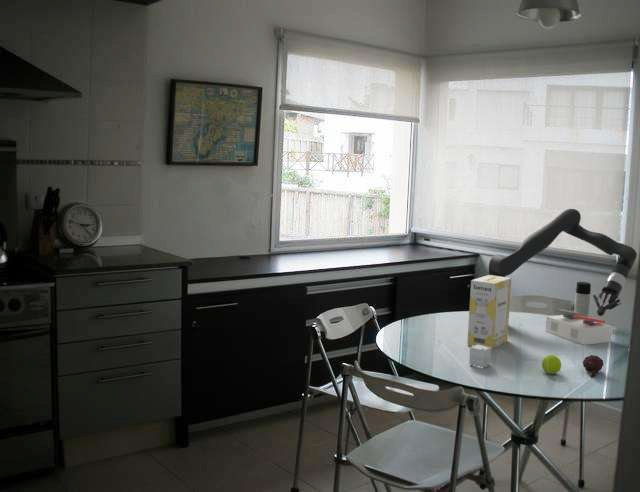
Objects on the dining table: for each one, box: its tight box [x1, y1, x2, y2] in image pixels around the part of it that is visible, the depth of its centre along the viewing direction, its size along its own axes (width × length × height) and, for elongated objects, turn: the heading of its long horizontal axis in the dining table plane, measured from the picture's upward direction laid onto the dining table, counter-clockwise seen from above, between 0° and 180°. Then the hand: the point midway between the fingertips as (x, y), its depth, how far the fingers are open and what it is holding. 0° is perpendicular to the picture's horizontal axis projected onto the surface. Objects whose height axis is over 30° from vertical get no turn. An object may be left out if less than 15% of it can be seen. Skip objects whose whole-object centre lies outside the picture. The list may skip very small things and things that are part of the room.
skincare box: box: [468, 344, 492, 368], centre depth 278 cm, size 6×6×7 cm
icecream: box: [582, 354, 604, 378], centre depth 274 cm, size 7×7×15 cm
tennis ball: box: [541, 354, 562, 375], centre depth 271 cm, size 7×7×7 cm
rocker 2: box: [573, 314, 606, 324], centre depth 320 cm, size 14×5×2 cm, turn 114°
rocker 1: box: [553, 307, 585, 316], centre depth 331 cm, size 14×5×2 cm, turn 114°
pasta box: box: [466, 274, 512, 350], centre depth 309 cm, size 18×10×28 cm, turn 144°
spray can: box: [573, 281, 592, 317], centre depth 351 cm, size 7×7×20 cm
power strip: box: [545, 313, 614, 346], centre depth 326 cm, size 16×24×8 cm
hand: (599, 314), depth 322 cm, fingers closed
